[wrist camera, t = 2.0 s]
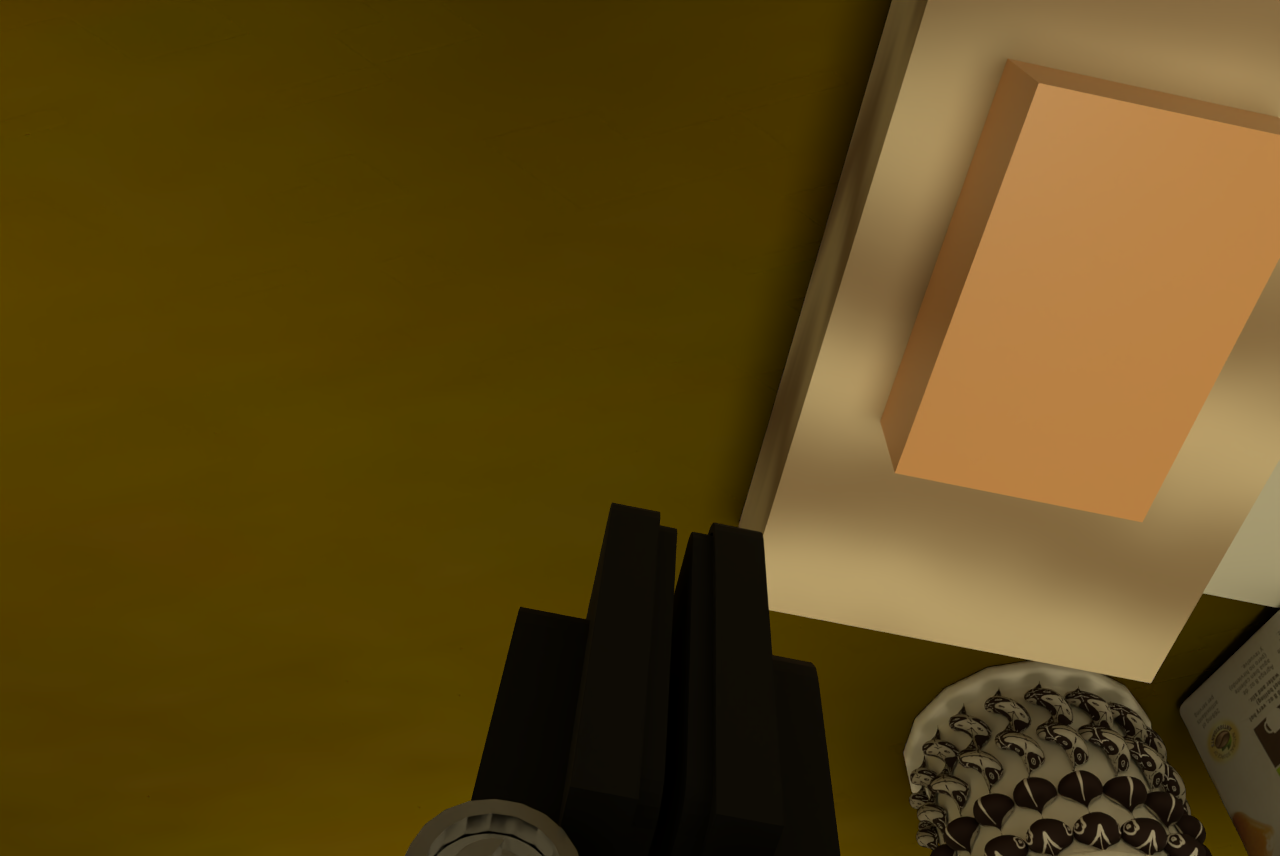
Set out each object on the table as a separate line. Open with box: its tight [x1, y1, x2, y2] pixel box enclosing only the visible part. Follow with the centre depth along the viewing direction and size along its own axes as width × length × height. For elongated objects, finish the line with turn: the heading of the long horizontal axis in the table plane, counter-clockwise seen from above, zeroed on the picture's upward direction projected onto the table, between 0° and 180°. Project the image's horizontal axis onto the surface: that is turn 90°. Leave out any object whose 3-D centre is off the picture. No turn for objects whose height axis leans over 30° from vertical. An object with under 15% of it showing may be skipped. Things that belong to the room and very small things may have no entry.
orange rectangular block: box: [880, 59, 1280, 522], centre depth 24 cm, size 9×6×2 cm, turn 169°
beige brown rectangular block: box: [739, 0, 1280, 683], centre depth 27 cm, size 22×12×4 cm, turn 169°
